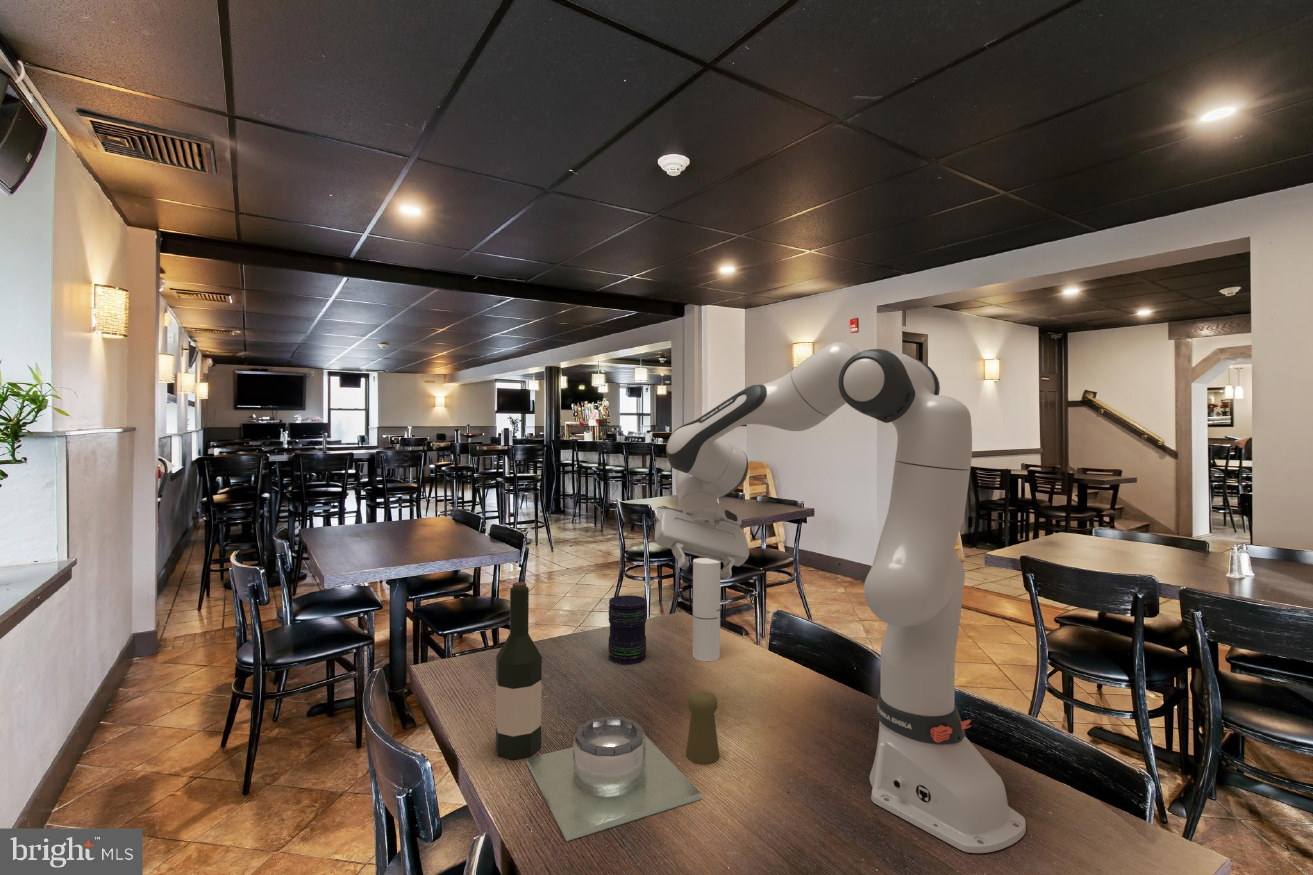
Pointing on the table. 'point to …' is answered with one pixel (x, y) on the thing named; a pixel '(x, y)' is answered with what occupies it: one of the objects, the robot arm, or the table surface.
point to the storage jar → (627, 629)
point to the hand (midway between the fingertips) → (705, 571)
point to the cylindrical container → (706, 609)
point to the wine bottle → (518, 684)
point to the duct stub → (608, 778)
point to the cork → (702, 729)
